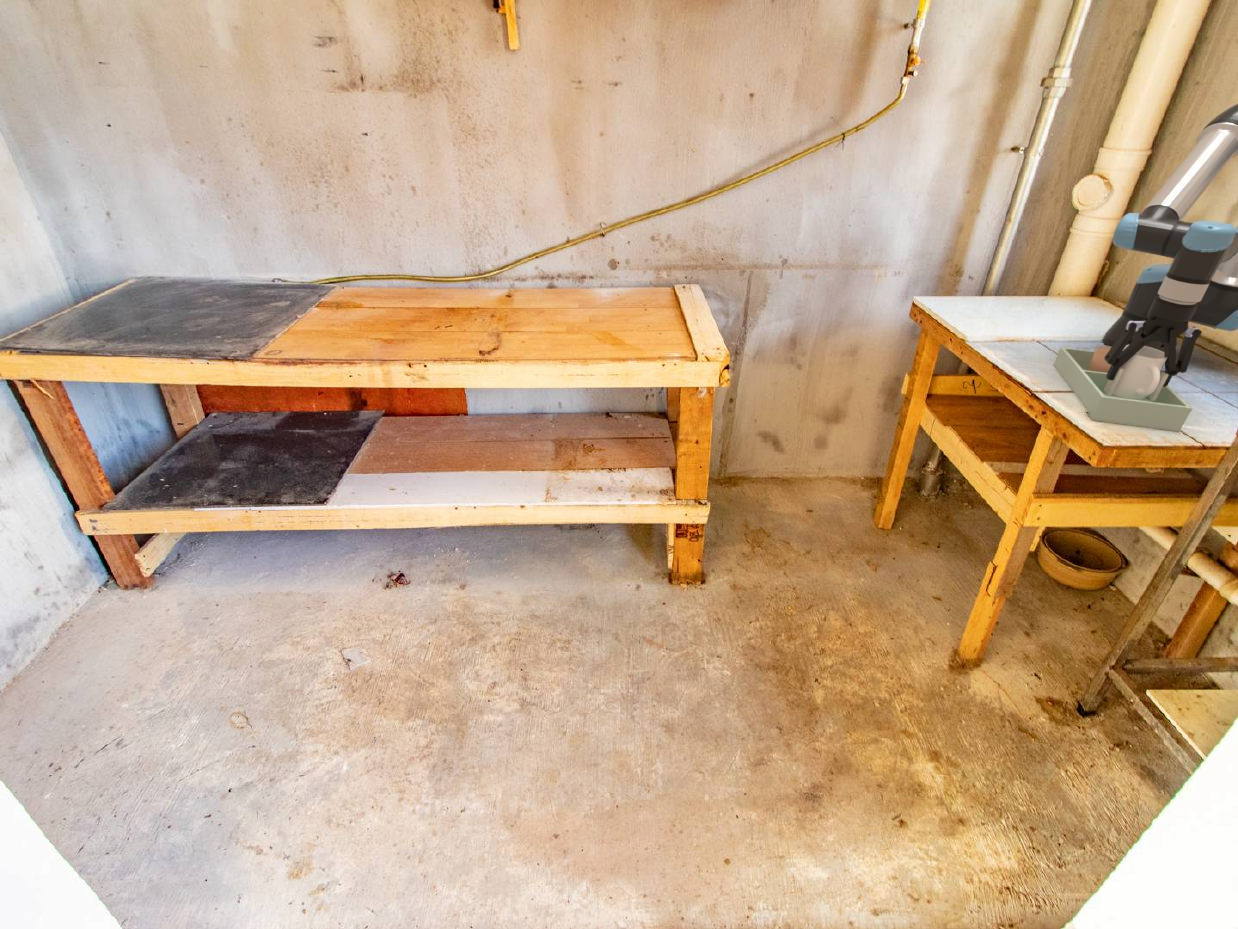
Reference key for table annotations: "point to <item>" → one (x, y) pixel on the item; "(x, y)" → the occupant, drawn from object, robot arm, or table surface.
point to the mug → (1140, 374)
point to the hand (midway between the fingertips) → (1129, 395)
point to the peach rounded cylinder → (1100, 360)
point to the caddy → (1114, 409)
